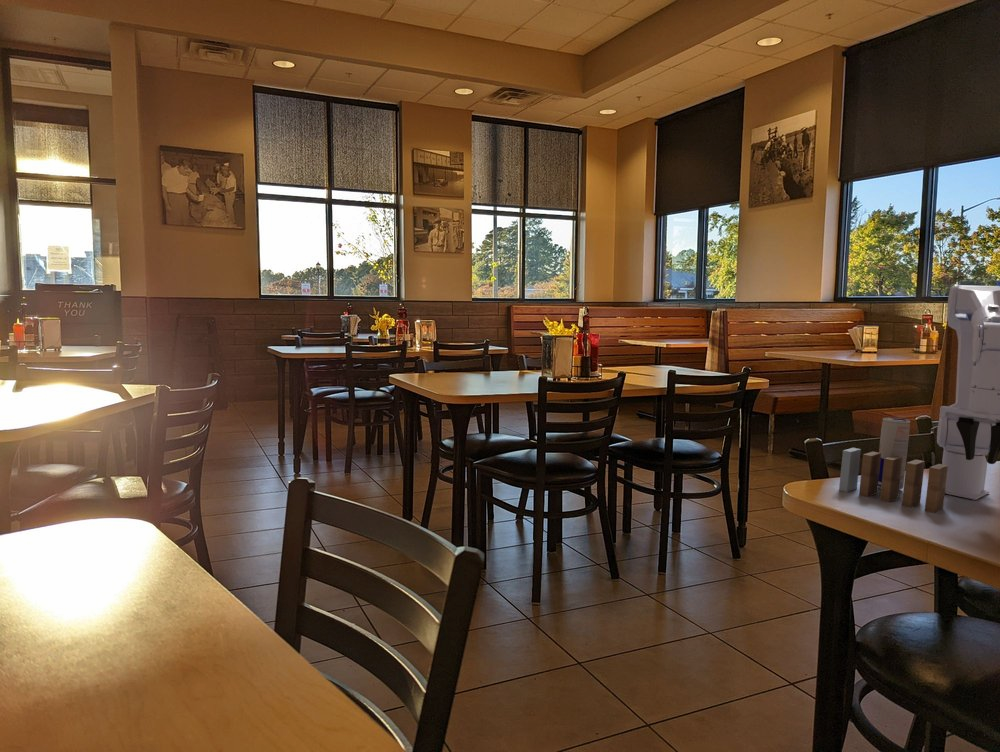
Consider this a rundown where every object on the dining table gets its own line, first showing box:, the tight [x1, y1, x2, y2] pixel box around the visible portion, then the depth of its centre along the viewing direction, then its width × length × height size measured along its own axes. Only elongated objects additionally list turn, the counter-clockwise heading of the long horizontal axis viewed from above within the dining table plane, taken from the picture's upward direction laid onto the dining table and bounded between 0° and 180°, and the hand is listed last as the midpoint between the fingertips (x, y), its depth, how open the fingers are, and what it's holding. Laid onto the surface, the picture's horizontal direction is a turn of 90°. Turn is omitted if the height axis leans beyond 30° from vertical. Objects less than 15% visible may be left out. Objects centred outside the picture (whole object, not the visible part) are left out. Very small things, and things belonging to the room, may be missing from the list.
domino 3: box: [879, 456, 902, 503], centre depth 137 cm, size 5×2×8 cm, turn 130°
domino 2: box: [858, 451, 881, 497], centre depth 140 cm, size 5×2×8 cm, turn 130°
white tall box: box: [878, 417, 911, 491], centre depth 144 cm, size 5×5×15 cm
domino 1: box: [838, 447, 862, 493], centre depth 143 cm, size 5×2×8 cm, turn 130°
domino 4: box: [901, 459, 926, 508], centre depth 134 cm, size 5×2×8 cm, turn 130°
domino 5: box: [924, 463, 948, 513], centre depth 131 cm, size 5×2×8 cm, turn 130°
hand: (980, 461), depth 127 cm, fingers open, 3 cm apart
